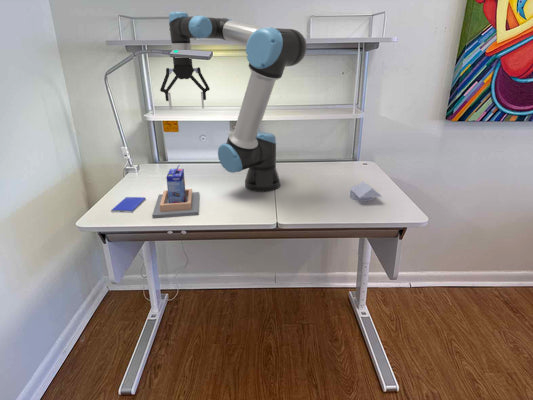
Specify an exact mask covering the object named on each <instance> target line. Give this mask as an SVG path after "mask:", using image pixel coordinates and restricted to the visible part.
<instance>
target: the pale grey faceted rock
mask: <svg viewBox="0 0 533 400" xmlns="http://www.w3.org/2000/svg"><path fill="white" fill-rule="evenodd" d="M378 197H382V195H381V194H380V193H379V192H378V191H377V190H375V189H374V188H373V187H372V186H370V185H369V184H368V183H366V182H365V181H361V182H359V184H357V185H352V186H351V187H350V190H349V198H350V199H352V200H354V201H358V202H368V201H372V200H373V199H374V198H378Z"/></svg>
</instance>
